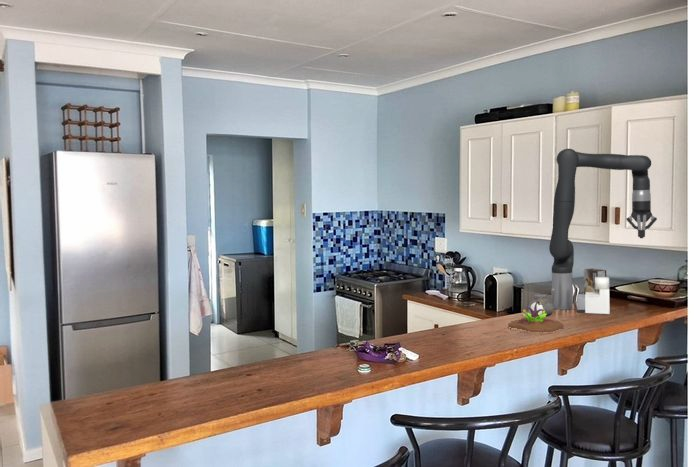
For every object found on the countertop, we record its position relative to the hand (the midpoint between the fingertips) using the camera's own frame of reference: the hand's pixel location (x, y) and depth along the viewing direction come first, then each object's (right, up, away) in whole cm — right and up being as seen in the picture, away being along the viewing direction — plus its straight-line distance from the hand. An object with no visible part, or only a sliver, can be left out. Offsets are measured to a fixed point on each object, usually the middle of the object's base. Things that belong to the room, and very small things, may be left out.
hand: (641, 238), depth 260 cm
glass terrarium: (-46, -35, -2) cm, 58 cm away
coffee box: (-10, -32, +25) cm, 42 cm away
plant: (-55, -38, -23) cm, 71 cm away
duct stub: (-23, -34, +3) cm, 41 cm away
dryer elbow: (-20, -33, +1) cm, 39 cm away
